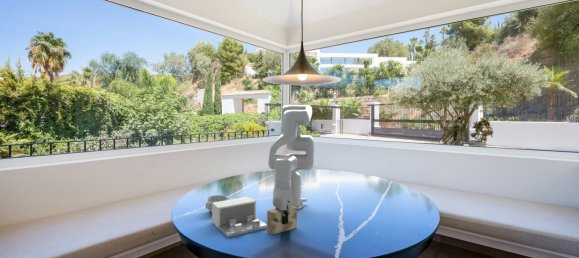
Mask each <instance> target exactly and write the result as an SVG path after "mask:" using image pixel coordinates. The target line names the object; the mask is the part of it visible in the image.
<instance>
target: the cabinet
mask: <svg viewBox="0 0 579 258" xmlns="http://www.w3.org/2000/svg"><path fill="white" fill-rule="evenodd" d="M249 215H253V218H254V217H256V218H257V201H256V200H255V199H254V198H252V197H250V196H243V197H239V198H232V199H227V200H225V201H219V202H213V203H212V212H211V222H212V224H213V225H214V226H215V227H216V228H217V229H218V225H222V224H227V223H229V220H230V219H234V218H235V219H236V221H241V220H245V219H246V216H249Z"/></svg>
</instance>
